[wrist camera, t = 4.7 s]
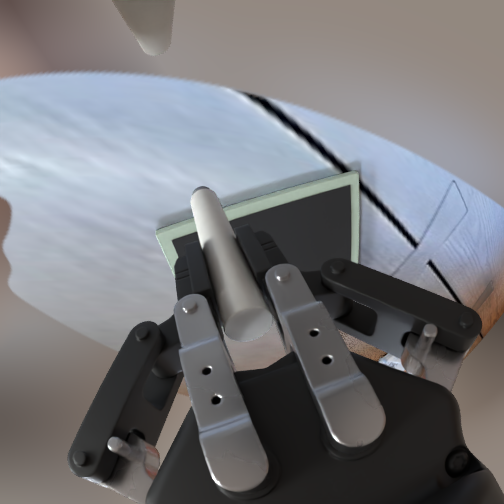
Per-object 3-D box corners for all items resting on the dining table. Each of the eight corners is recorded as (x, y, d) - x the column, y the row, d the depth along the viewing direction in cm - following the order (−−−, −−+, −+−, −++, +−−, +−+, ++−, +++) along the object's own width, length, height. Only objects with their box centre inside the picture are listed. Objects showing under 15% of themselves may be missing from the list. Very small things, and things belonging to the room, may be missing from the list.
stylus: (185, 187, 19) (218, 317, 9) (211, 179, 19) (269, 300, 9) (193, 210, 20) (231, 348, 10) (217, 202, 20) (277, 331, 10)
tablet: (155, 230, 28) (155, 235, 27) (354, 170, 31) (359, 172, 30) (201, 329, 38) (203, 334, 37) (354, 273, 40) (357, 277, 39)
